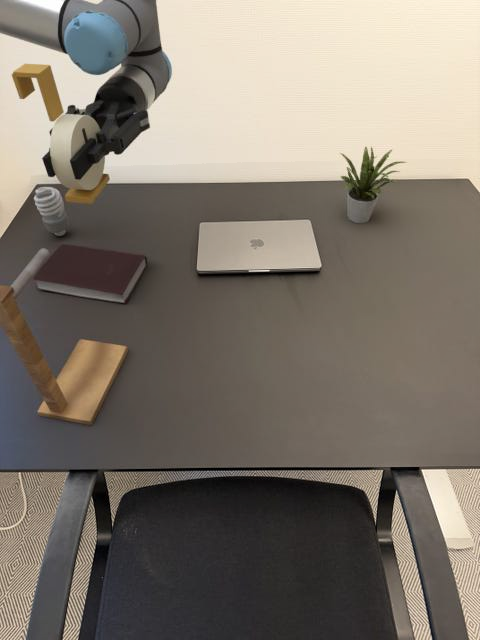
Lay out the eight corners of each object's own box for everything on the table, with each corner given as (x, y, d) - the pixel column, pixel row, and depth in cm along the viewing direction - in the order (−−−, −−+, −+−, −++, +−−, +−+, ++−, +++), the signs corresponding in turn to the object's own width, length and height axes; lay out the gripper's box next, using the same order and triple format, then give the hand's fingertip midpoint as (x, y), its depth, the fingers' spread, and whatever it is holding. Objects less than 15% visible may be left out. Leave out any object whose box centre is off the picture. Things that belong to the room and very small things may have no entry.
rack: (39, 415, 75) (-33, 297, 56) (81, 343, 85) (33, 223, 66) (92, 425, 73) (36, 308, 54) (128, 350, 84) (92, 229, 65)
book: (66, 252, 103) (61, 240, 101) (148, 264, 100) (146, 252, 97) (36, 290, 95) (31, 278, 92) (125, 305, 91) (122, 293, 89)
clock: (41, 205, 68) (-6, 82, 56) (71, 170, 75) (35, 54, 63) (87, 210, 67) (50, 85, 55) (113, 174, 74) (85, 56, 62)
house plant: (406, 228, 107) (425, 162, 95) (353, 243, 104) (367, 176, 92) (372, 197, 116) (385, 133, 104) (322, 209, 113) (331, 144, 101)
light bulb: (77, 229, 109) (62, 182, 100) (67, 243, 105) (50, 197, 97) (55, 227, 110) (38, 180, 101) (44, 241, 106) (25, 194, 97)
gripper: (174, 124, 80) (124, 199, 64) (85, 118, 82) (16, 188, 66) (169, 77, 74) (112, 146, 58) (73, 72, 77) (-5, 137, 61)
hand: (61, 168), depth 62 cm, fingers closed on clock, 3 cm apart
